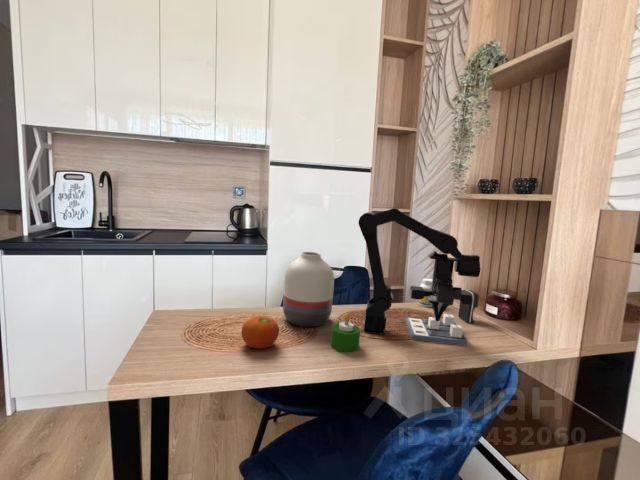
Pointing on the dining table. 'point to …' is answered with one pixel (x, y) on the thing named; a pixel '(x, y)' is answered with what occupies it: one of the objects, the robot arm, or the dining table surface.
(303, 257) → the vase
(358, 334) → the candle
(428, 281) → the pill bottle
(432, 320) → the tab mid
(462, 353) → the dining table surface
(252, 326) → the fruit
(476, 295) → the dark grey upright slab
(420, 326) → the switch bank
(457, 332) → the tab near
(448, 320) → the tab far
